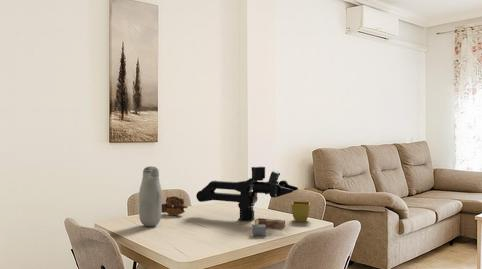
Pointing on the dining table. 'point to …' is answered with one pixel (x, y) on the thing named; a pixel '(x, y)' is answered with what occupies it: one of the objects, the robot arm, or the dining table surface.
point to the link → (272, 223)
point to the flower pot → (300, 210)
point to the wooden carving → (174, 206)
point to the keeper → (259, 230)
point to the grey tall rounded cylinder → (150, 197)
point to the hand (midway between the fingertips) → (295, 189)
